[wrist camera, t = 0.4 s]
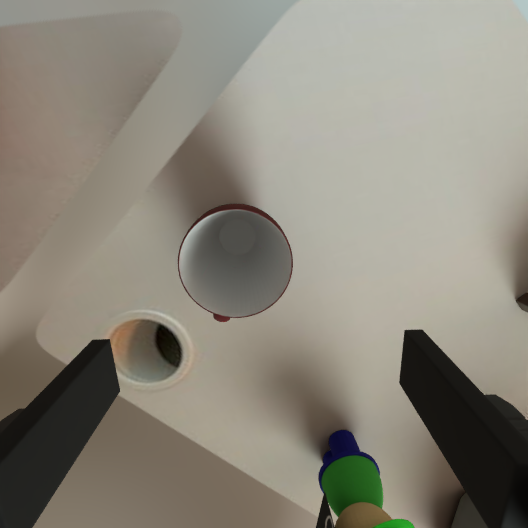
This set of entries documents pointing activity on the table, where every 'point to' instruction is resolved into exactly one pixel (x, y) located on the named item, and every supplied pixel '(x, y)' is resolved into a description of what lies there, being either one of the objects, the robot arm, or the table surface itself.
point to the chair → (523, 302)
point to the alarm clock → (467, 515)
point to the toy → (352, 488)
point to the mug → (235, 261)
